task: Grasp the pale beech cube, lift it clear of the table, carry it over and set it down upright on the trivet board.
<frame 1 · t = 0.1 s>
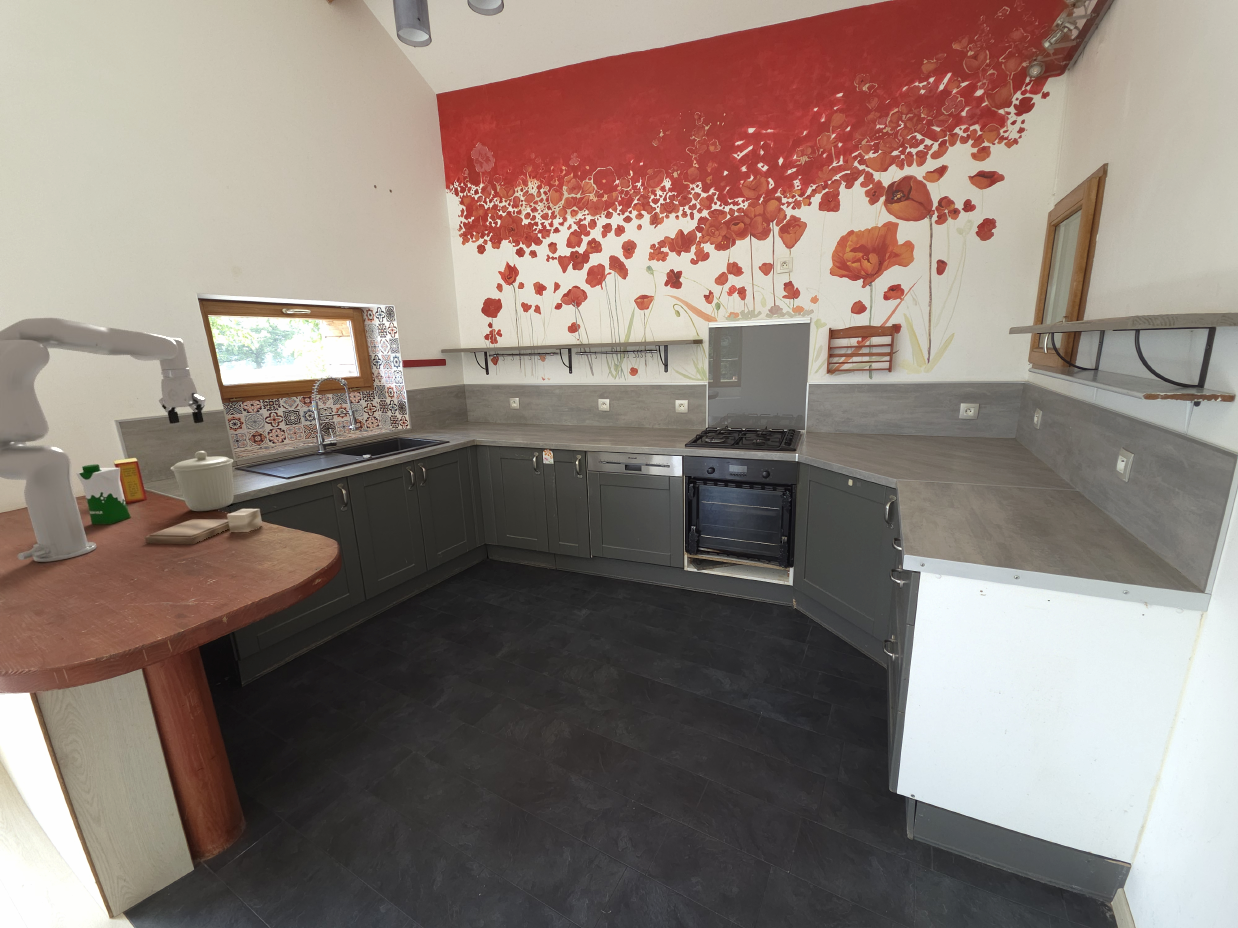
hand: (186, 422, 188), 31 cm above the table, fingers open, 9 cm apart
baking soda box: (134, 499, 208), on the table
cube: (246, 529, 168), on the table
canister: (212, 507, 194), on the table
trivet: (193, 534, 165), on the table
milk carton: (112, 521, 182), on the table
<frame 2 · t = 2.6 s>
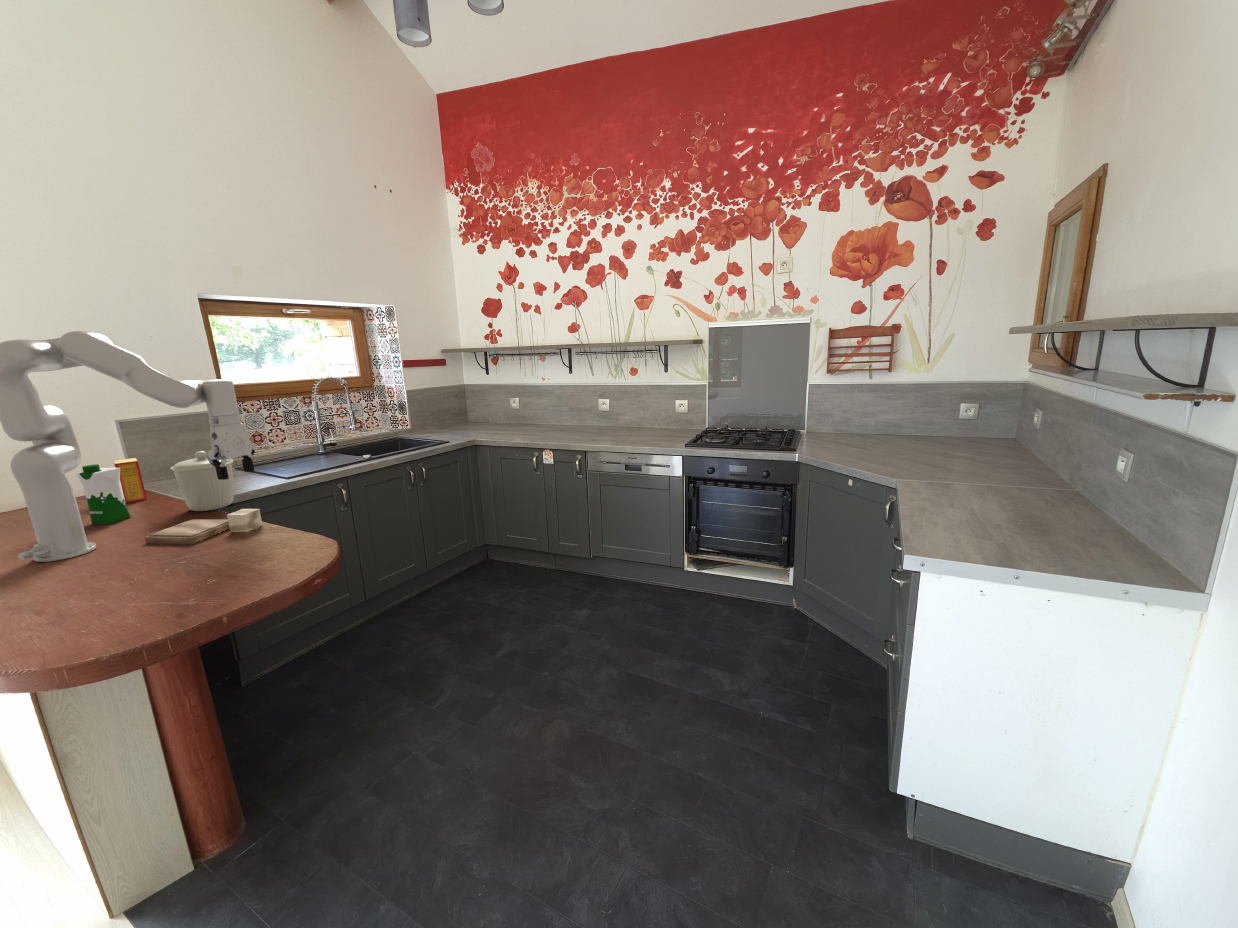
hand: (236, 475, 164), 18 cm above the table, fingers open, 9 cm apart
nothing on the table moved.
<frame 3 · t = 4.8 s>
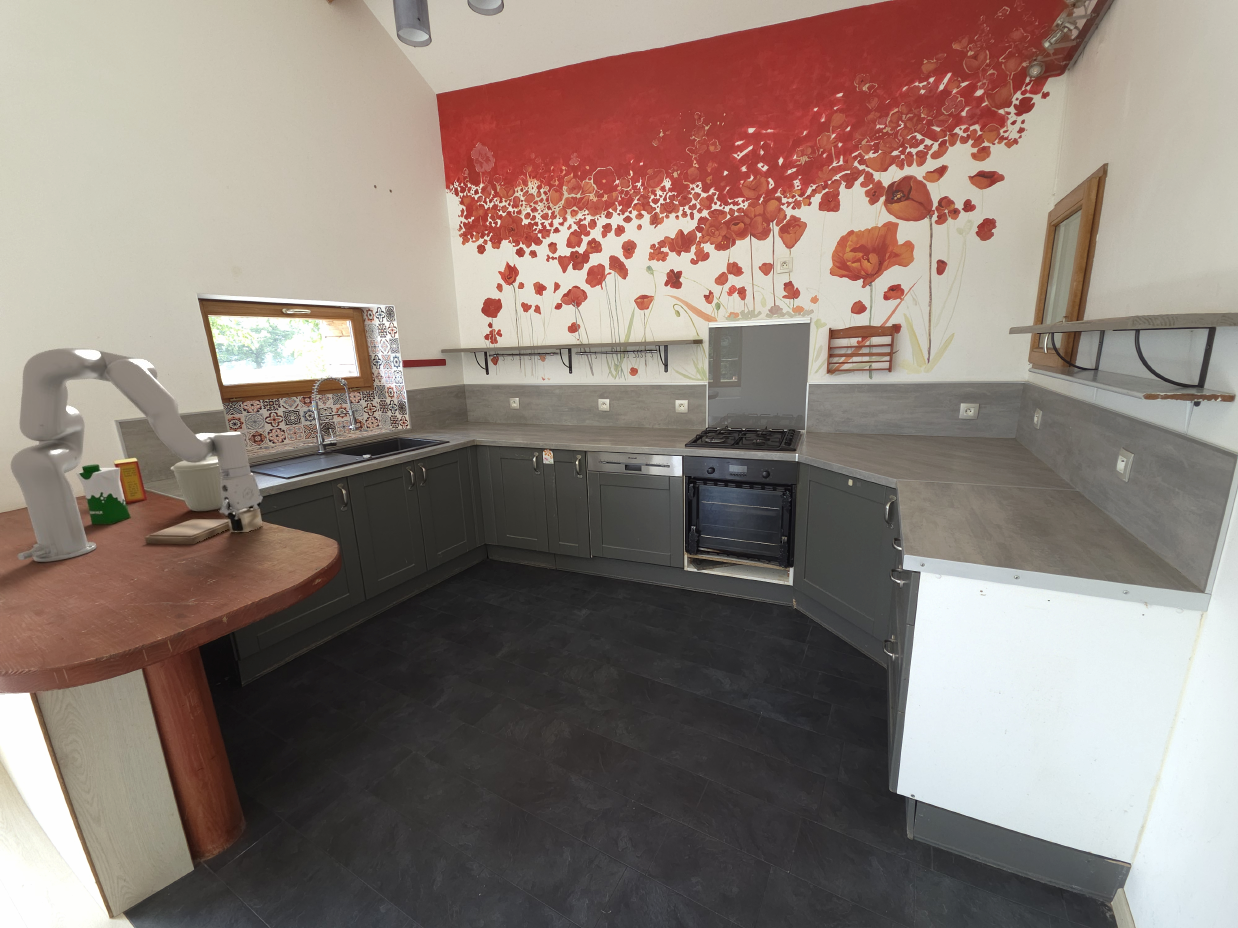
hand: (246, 526, 168), 1 cm above the table, fingers closed on cube, 6 cm apart
cube: (247, 529, 168), on the table, touching gripper
everything else where it was.
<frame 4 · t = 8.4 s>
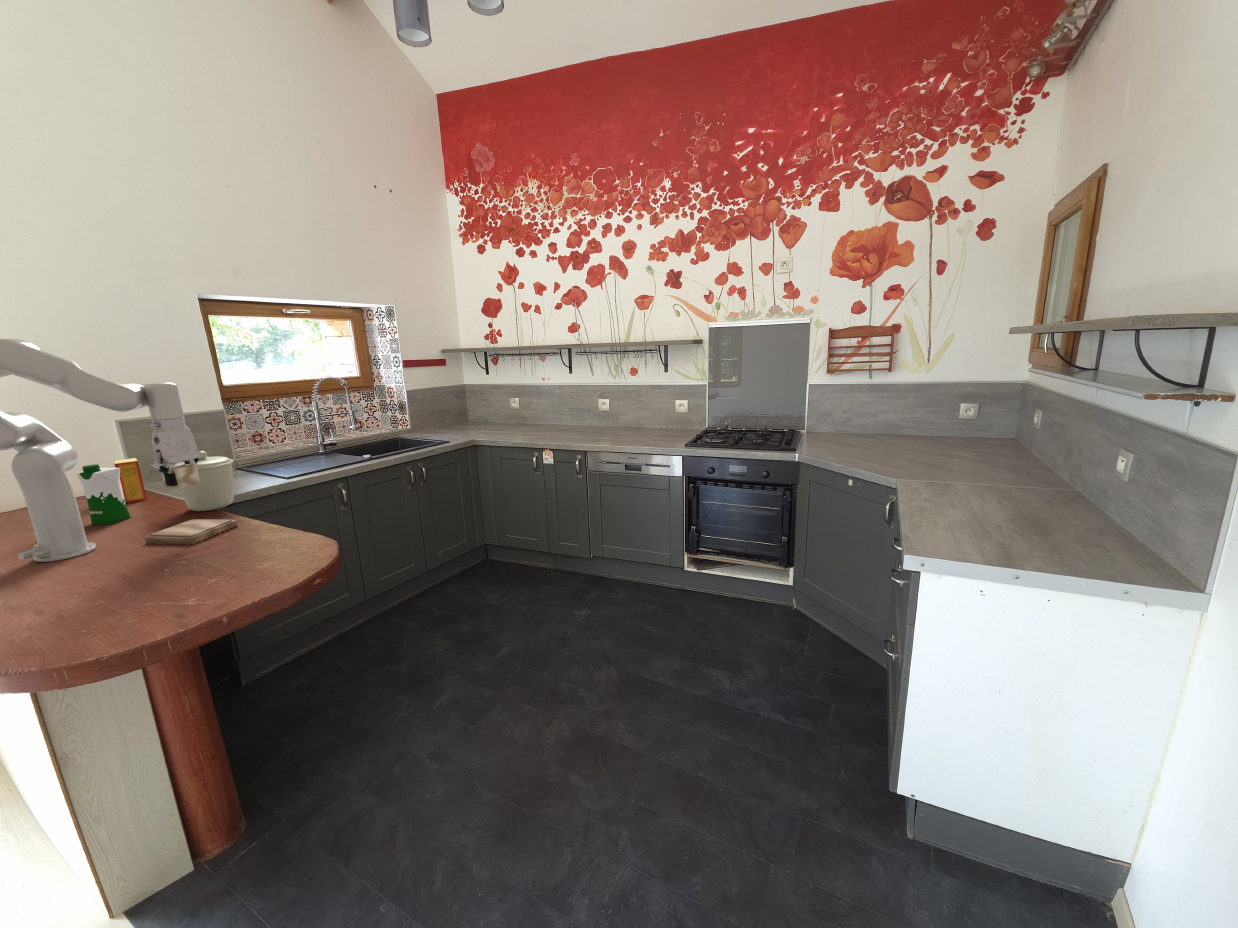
hand: (182, 482, 161), 17 cm above the table, fingers closed on cube, 6 cm apart
cube: (183, 485, 162), point 16 cm above the table, touching gripper
everything else where it was.
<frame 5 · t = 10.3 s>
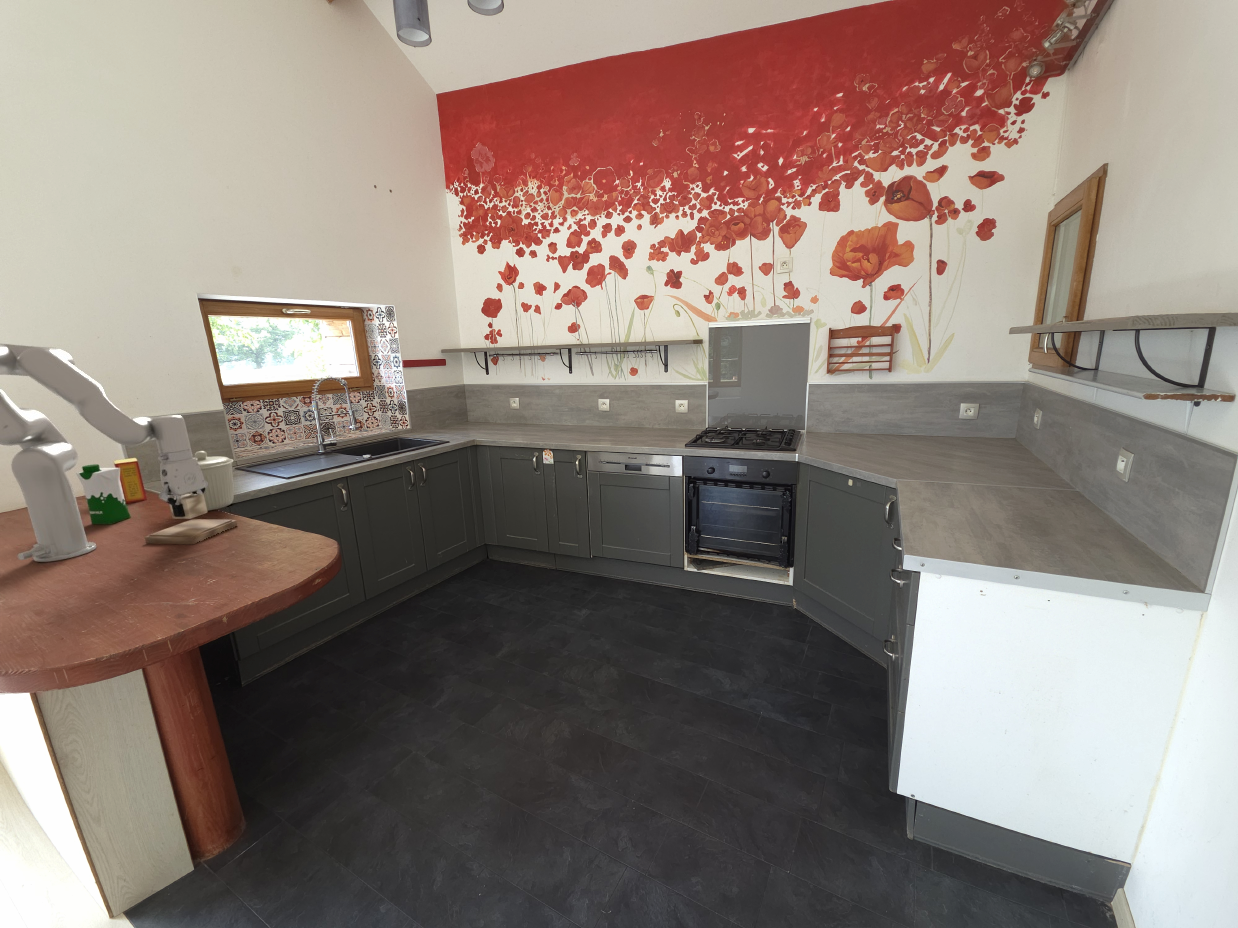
hand: (189, 512, 164), 7 cm above the table, fingers closed on cube, 6 cm apart
cube: (190, 515, 164), point 6 cm above the table, touching gripper
everything else where it was.
when the fingers open (4 cm above the table, at t = 12.0 s): cube stays where it is, resting on trivet.
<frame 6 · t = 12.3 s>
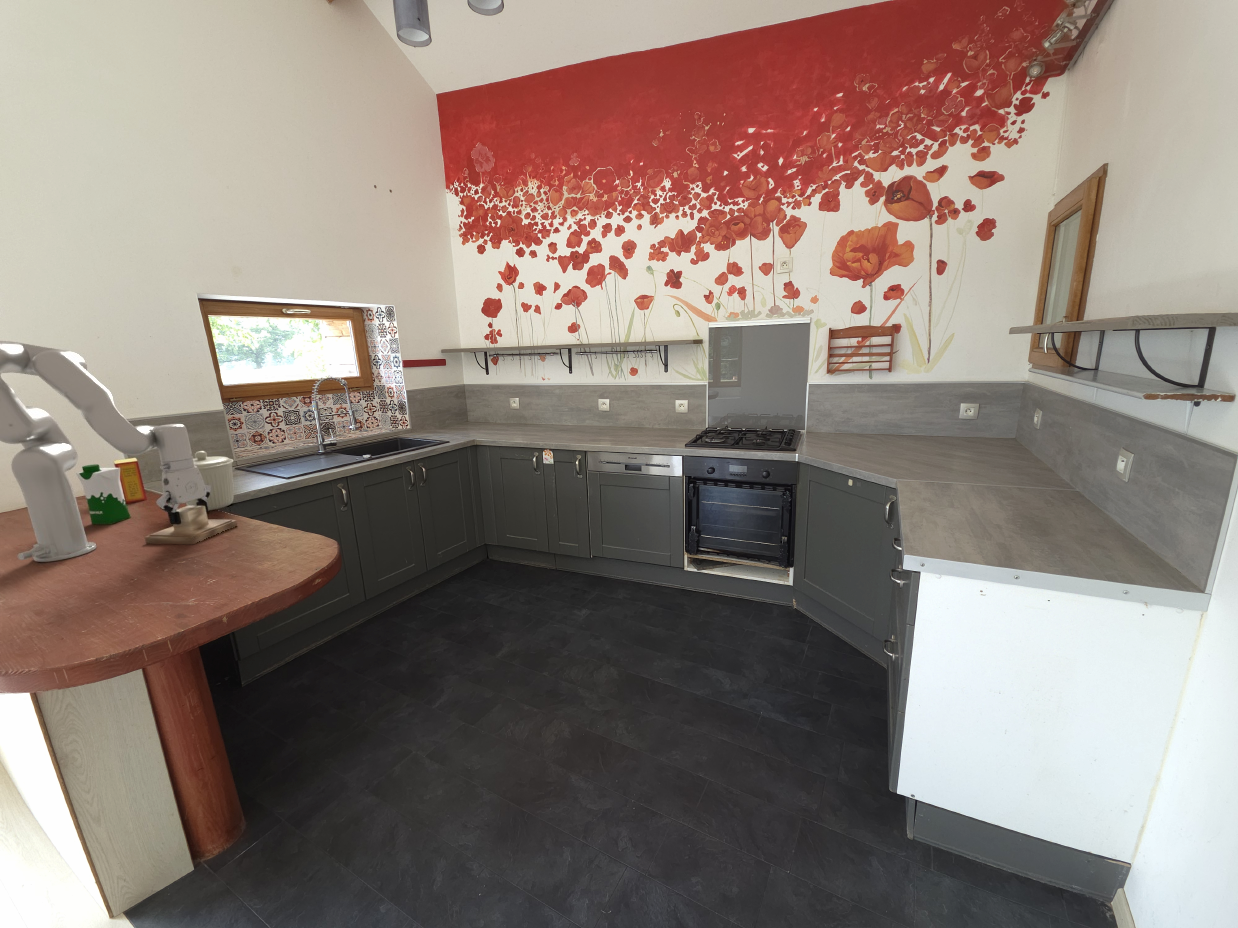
hand: (190, 518, 164), 5 cm above the table, fingers open, 9 cm apart
cube: (191, 527, 165), point 2 cm above the table, touching trivet
everything else where it was.
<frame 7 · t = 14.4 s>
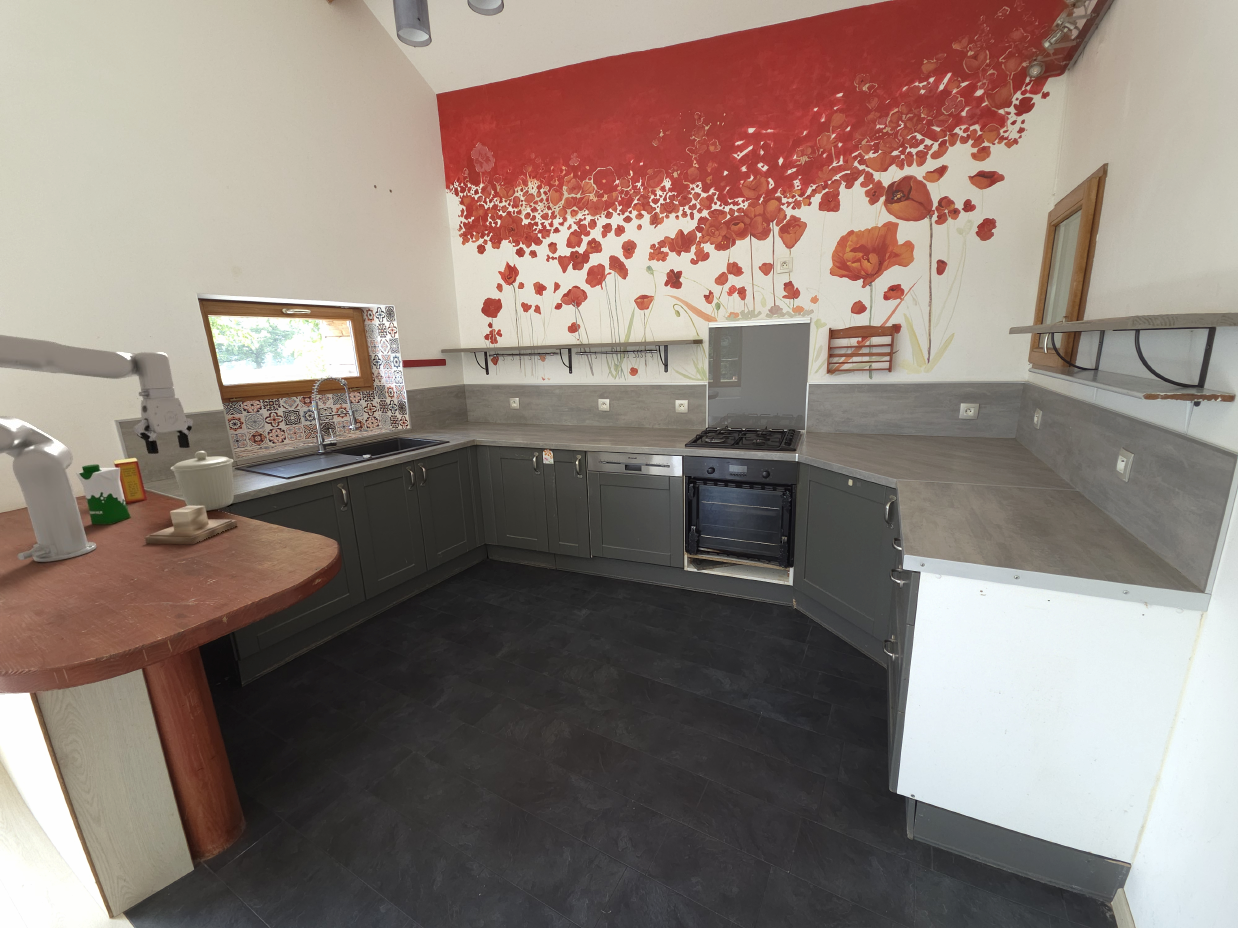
hand: (169, 450, 161), 26 cm above the table, fingers open, 9 cm apart
nothing on the table moved.
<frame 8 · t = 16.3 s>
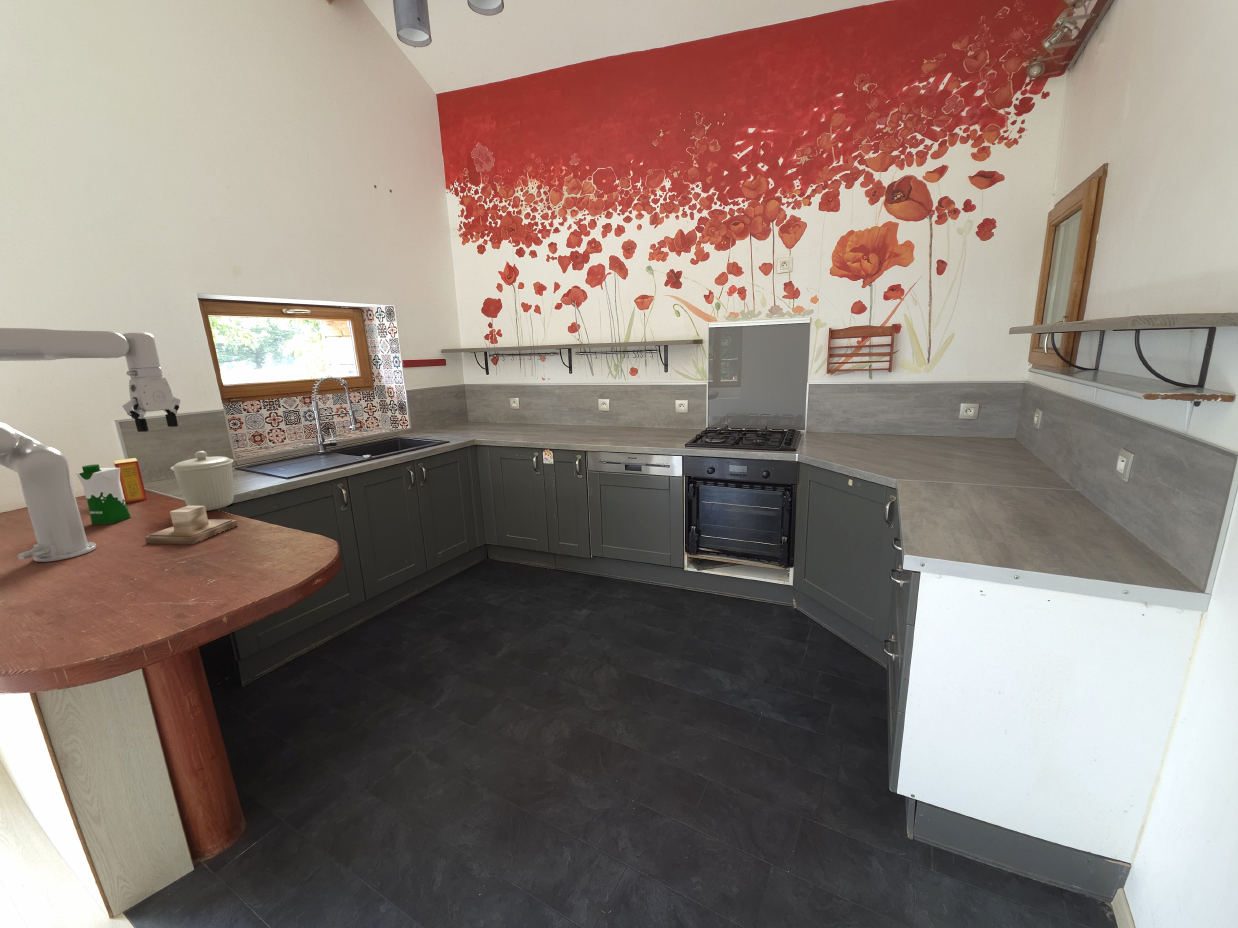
hand: (158, 429, 166), 32 cm above the table, fingers open, 9 cm apart
nothing on the table moved.
at the end: cube inside the target area on the trivet (0.1 cm from its centre), point 2.4 cm above the trivet's base; cube tilted 0°; the gripper is holding nothing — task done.
